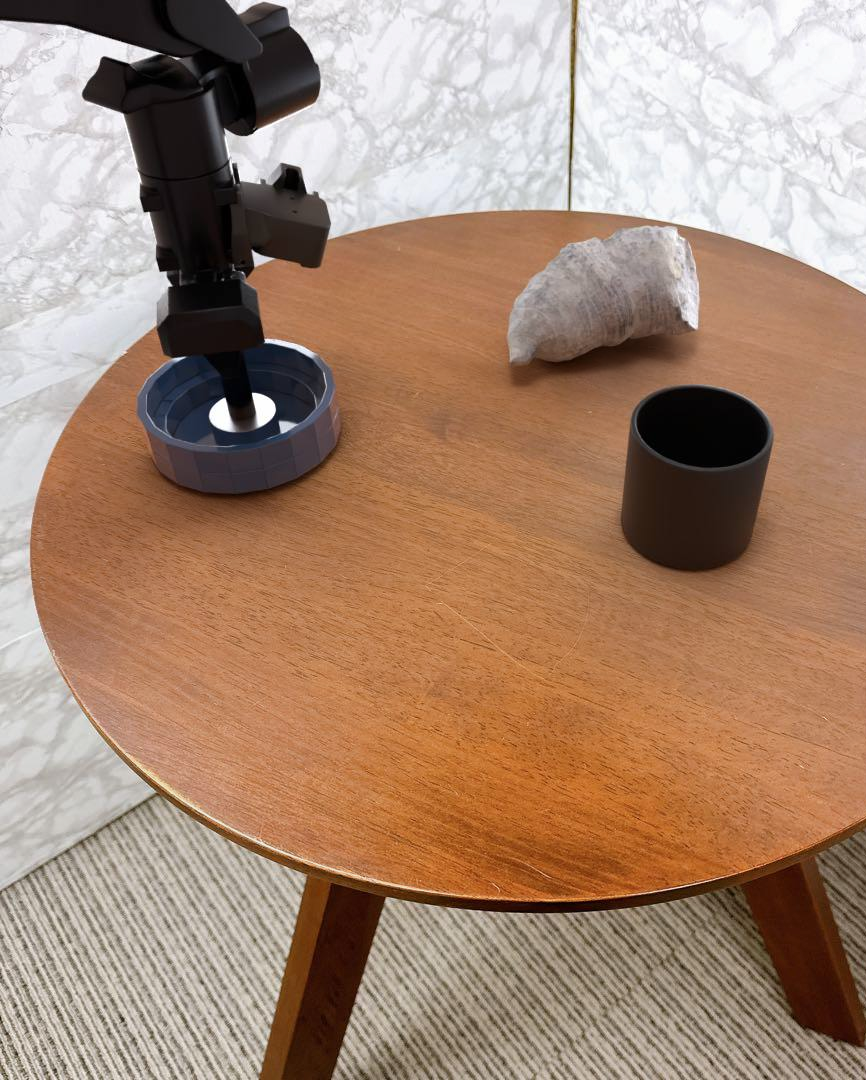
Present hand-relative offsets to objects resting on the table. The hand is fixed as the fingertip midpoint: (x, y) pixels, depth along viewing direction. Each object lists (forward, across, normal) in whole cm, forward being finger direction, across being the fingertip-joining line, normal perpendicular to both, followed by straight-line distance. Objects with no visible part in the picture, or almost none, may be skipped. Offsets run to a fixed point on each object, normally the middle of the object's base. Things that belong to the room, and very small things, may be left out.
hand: (231, 368), depth 75 cm
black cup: (+7, -17, -31) cm, 36 cm away
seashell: (+7, +6, -31) cm, 32 cm away
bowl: (+7, 0, 0) cm, 7 cm away
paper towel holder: (+6, 0, 0) cm, 6 cm away
